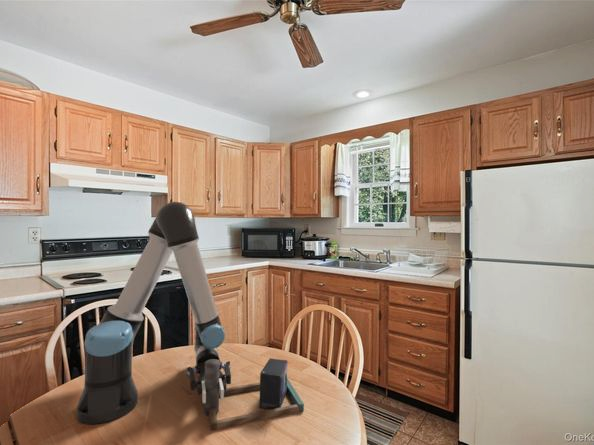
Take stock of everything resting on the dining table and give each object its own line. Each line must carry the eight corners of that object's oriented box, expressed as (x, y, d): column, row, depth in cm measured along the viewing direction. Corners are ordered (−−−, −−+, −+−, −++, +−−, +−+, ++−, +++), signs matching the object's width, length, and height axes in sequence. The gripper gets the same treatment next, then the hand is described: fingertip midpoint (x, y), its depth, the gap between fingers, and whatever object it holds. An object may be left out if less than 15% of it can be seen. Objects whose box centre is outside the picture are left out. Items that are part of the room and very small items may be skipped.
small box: (280, 412, 87) (280, 375, 87) (258, 409, 89) (258, 373, 89) (288, 392, 98) (288, 359, 98) (268, 389, 99) (268, 357, 99)
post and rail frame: (206, 431, 78) (206, 376, 79) (202, 397, 94) (203, 351, 94) (303, 410, 88) (304, 361, 88) (286, 382, 103) (286, 341, 103)
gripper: (232, 366, 107) (245, 404, 85) (180, 374, 101) (179, 417, 79) (233, 345, 107) (245, 377, 85) (180, 351, 101) (179, 388, 79)
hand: (213, 396), depth 82 cm, fingers closed on post and rail frame, 4 cm apart
